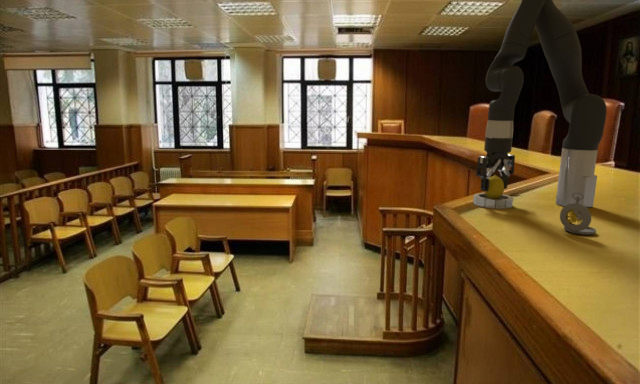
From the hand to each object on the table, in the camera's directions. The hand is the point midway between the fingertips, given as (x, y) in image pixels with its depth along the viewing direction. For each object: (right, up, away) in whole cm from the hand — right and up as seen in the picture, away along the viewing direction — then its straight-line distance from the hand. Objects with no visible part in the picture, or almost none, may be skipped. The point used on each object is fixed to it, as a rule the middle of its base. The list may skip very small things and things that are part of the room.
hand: (493, 189), depth 133 cm
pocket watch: (+8, -11, -28) cm, 31 cm away
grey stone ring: (0, -5, +1) cm, 5 cm away
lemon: (0, -4, +1) cm, 4 cm away
